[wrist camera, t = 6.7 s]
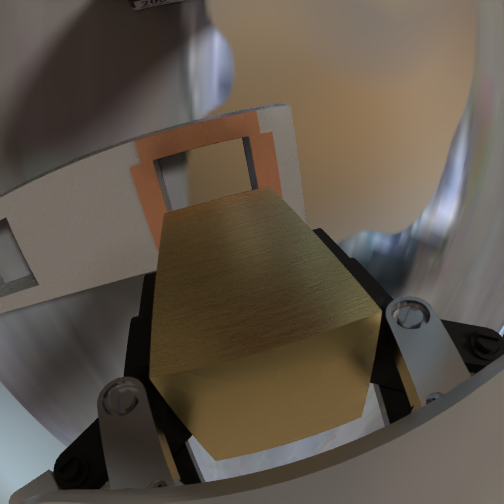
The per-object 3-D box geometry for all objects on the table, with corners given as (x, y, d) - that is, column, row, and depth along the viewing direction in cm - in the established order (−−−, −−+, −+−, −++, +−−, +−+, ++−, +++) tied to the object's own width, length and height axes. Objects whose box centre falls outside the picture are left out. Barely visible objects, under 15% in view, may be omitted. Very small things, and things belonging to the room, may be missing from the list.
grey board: (-46, 223, 16) (-62, 236, 14) (278, 103, 19) (291, 104, 17) (-6, 302, 21) (-16, 319, 19) (295, 216, 24) (307, 231, 22)
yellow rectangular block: (164, 213, 12) (149, 377, 5) (270, 186, 12) (381, 310, 5) (193, 298, 14) (215, 460, 7) (284, 274, 14) (361, 416, 7)
